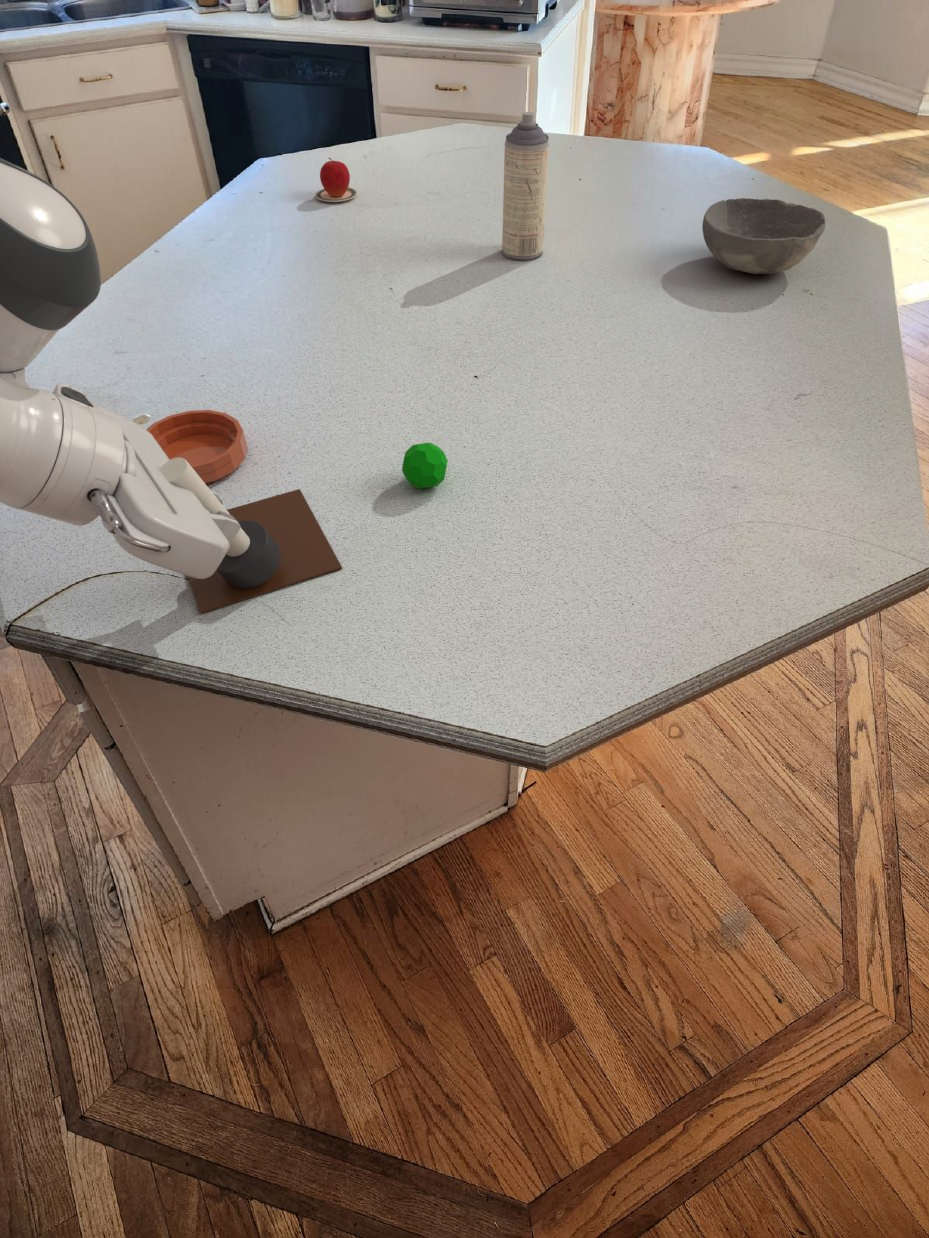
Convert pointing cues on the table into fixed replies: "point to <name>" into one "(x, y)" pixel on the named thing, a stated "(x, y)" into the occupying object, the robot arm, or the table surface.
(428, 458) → the polyhedron
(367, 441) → the table surface
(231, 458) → the dish
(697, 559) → the table surface
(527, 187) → the aerosol can
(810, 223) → the bowl
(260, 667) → the table surface
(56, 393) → the robot arm
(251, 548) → the brush
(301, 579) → the board
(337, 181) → the apple
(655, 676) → the table surface
